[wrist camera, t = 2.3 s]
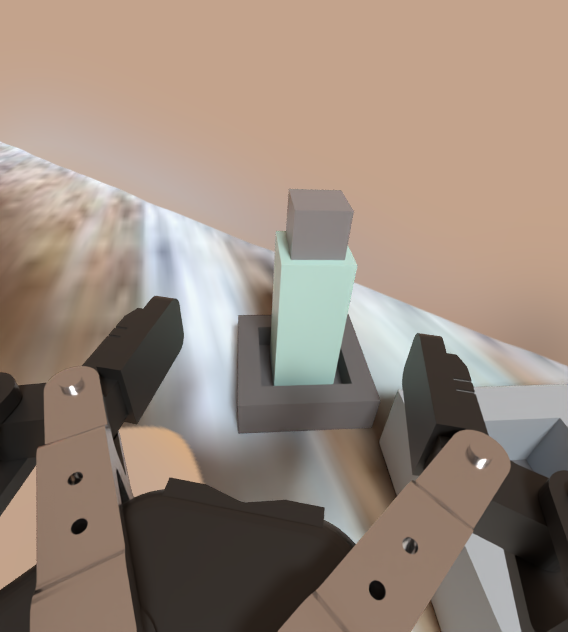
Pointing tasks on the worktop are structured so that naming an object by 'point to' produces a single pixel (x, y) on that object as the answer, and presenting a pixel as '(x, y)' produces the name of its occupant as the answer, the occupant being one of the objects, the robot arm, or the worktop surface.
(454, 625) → the grey divided tray
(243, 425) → the grey square tray
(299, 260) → the plug
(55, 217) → the worktop surface
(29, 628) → the robot arm
